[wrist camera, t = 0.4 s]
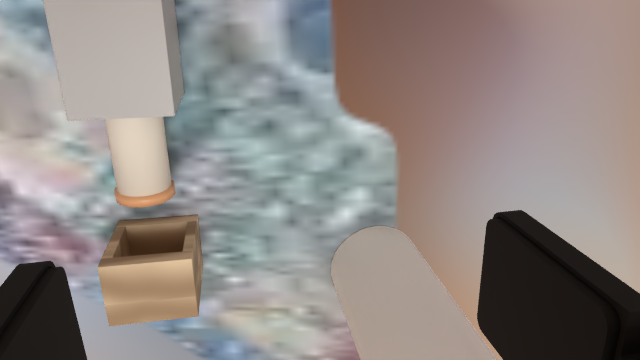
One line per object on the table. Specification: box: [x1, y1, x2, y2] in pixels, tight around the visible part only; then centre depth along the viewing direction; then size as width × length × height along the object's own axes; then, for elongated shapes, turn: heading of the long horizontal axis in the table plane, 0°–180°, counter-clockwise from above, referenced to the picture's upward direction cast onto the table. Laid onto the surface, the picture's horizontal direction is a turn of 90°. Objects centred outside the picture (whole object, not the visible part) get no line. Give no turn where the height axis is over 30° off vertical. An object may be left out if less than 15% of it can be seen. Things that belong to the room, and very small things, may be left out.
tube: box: [105, 117, 175, 207], centre depth 37 cm, size 15×5×5 cm, turn 0°
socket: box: [97, 215, 203, 326], centre depth 42 cm, size 6×7×8 cm
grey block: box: [43, 0, 184, 121], centre depth 35 cm, size 8×7×8 cm
